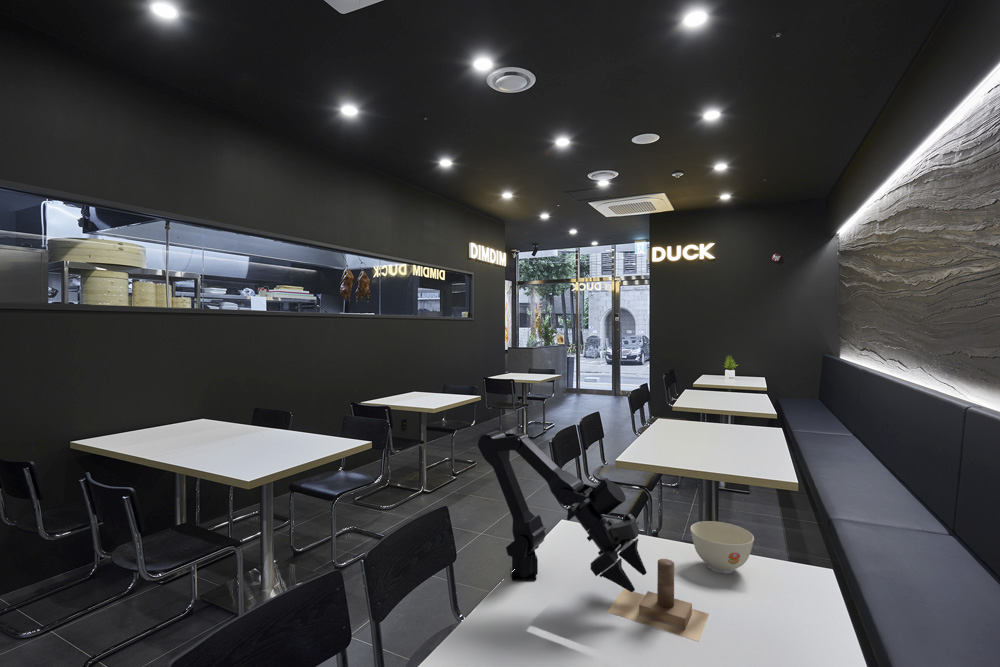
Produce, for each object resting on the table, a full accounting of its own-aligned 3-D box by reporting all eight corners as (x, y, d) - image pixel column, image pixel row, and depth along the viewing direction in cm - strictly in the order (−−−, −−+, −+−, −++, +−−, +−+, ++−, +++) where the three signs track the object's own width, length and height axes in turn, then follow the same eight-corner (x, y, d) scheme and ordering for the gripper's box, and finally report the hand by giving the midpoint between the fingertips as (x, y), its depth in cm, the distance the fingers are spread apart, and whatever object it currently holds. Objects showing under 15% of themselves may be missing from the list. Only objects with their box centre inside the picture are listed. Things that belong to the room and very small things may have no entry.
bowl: (749, 560, 143) (749, 525, 143) (757, 587, 128) (758, 548, 128) (689, 551, 148) (689, 518, 148) (691, 576, 133) (691, 539, 133)
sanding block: (639, 615, 113) (639, 562, 113) (647, 601, 119) (648, 551, 119) (685, 630, 108) (685, 574, 108) (691, 614, 114) (692, 561, 114)
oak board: (606, 615, 115) (606, 611, 115) (623, 592, 125) (623, 588, 125) (698, 646, 104) (698, 641, 104) (709, 618, 114) (709, 613, 114)
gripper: (604, 519, 111) (653, 582, 106) (631, 495, 127) (674, 549, 121) (571, 545, 116) (616, 607, 110) (600, 519, 131) (641, 572, 126)
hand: (639, 582), depth 117 cm, fingers open, 9 cm apart
